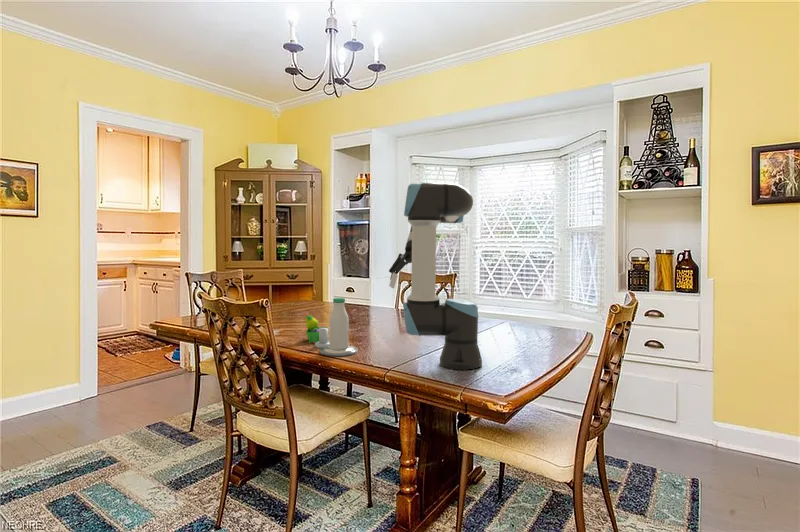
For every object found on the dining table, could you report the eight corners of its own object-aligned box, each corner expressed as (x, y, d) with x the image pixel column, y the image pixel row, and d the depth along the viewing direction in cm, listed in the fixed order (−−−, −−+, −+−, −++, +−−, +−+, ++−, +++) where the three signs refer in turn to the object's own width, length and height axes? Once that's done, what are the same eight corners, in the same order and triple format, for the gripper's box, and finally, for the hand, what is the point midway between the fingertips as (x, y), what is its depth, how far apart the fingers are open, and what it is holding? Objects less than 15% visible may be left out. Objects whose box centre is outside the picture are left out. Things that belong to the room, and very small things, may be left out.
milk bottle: (347, 350, 176) (347, 299, 175) (327, 350, 177) (327, 299, 175) (350, 345, 184) (350, 296, 183) (331, 345, 184) (330, 296, 183)
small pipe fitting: (334, 347, 188) (334, 329, 188) (318, 349, 185) (318, 330, 184) (328, 343, 194) (328, 326, 194) (312, 345, 191) (312, 327, 190)
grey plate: (364, 353, 178) (364, 350, 178) (328, 358, 170) (328, 354, 170) (348, 346, 191) (348, 342, 190) (314, 350, 183) (314, 346, 183)
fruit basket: (323, 343, 195) (323, 317, 194) (302, 343, 195) (302, 317, 194) (328, 338, 206) (328, 313, 205) (308, 337, 206) (308, 313, 206)
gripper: (442, 244, 198) (431, 288, 189) (399, 251, 214) (387, 291, 205) (432, 235, 193) (421, 280, 185) (389, 243, 209) (376, 284, 201)
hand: (403, 286), depth 195 cm, fingers open, 13 cm apart
